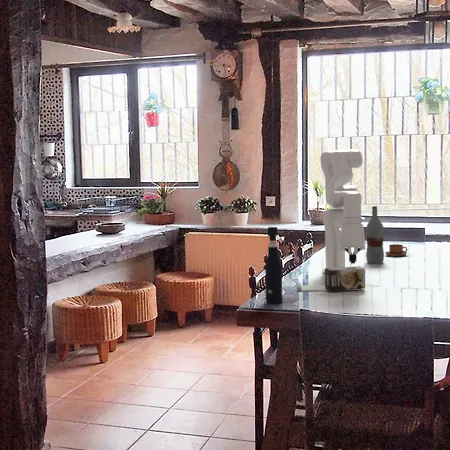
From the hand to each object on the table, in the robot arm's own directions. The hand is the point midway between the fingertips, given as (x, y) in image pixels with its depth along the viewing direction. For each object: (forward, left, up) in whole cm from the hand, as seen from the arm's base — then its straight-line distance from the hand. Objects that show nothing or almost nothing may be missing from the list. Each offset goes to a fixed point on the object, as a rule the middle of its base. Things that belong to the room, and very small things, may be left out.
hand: (352, 263), depth 300 cm
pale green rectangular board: (0, -11, -11) cm, 15 cm away
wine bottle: (+27, -34, -11) cm, 45 cm away
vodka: (-72, +18, -11) cm, 75 cm away
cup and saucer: (-97, +33, -12) cm, 103 cm away
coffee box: (+2, +4, -6) cm, 7 cm away
